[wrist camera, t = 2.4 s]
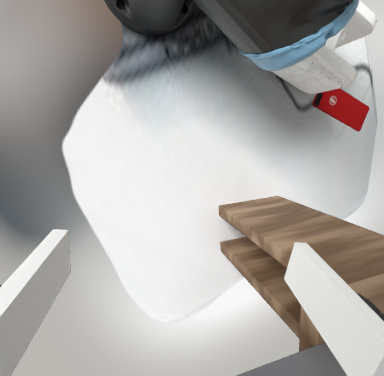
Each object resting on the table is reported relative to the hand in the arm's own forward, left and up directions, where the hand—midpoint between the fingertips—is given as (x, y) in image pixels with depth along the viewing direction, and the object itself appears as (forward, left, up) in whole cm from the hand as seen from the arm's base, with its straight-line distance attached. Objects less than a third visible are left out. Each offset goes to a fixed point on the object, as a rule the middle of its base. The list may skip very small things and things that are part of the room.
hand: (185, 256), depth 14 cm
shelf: (+13, +21, -31) cm, 39 cm away
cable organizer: (-20, +31, -31) cm, 48 cm away
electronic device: (-10, +45, -31) cm, 55 cm away
